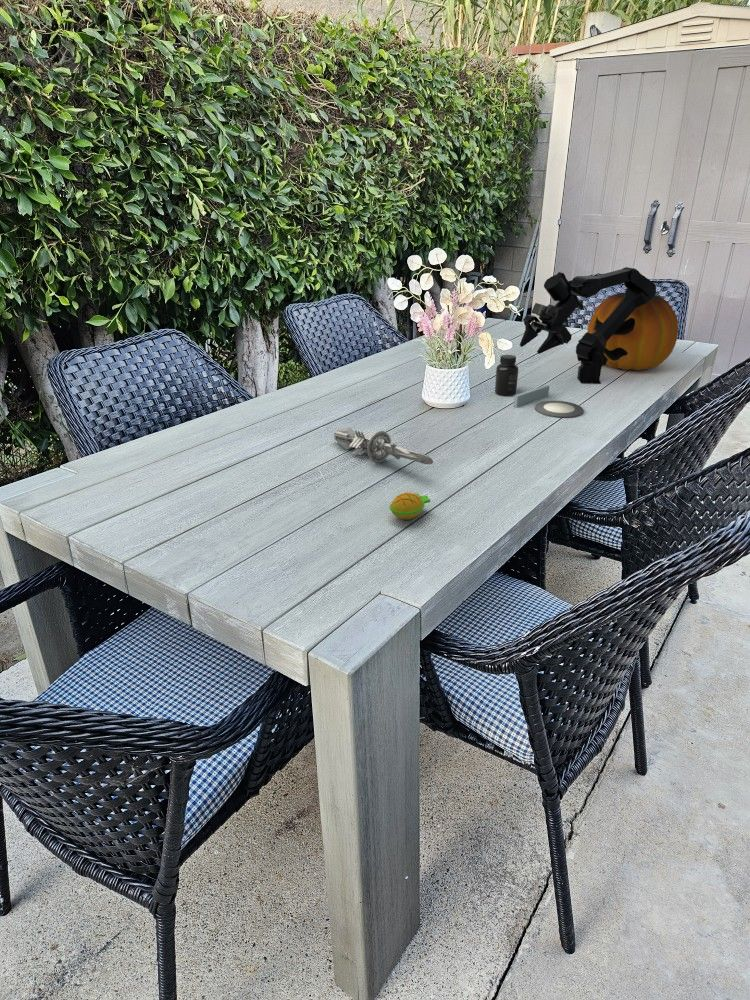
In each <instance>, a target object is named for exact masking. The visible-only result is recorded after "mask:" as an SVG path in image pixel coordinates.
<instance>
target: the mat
mask: <svg viewBox="0 0 750 1000" xmlns="http://www.w3.org/2000/svg"><path fill="white" fill-rule="evenodd" d="M534 410H535V411H536V412H537V413H539V414H541V415H543V416H545V417H550V418H551V417H552V418H556V419H558V418H560V419H569V418H570V419H571V418H578V417H580V416H581V415H583V413H584V409H583V407H582V406H581V405H579V404H576V403H574V402H570V401H564V400H544V401H540V402H537V403H536V404H535V405H534Z"/></svg>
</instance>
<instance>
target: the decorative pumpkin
mask: <svg viewBox="0 0 750 1000" xmlns="http://www.w3.org/2000/svg"><path fill="white" fill-rule="evenodd" d="M624 297H625V292H618V293H617V292H616V294H612V295H610V296H608V297H607V298H605V300H604V299H603V301H602V302H601V303H600V304H599V305H598V306H596V308H595V310H593V311H594V312H593V314H592V316H591V319H590V321H589V323H588V327H587V331H586V332H588V333H591V334H592V333H594V332H595V331H596V330H597V329H598V328H599V327H600V326H601V325H602V324H603V322H604V321H605V320H606V319H607V318H608V317H609V316H610V314H611V313H612V312H613V311H614V310H615V309H616V308H617V306H618V305H619V304H620V303H621V302H622V301H623V300H624ZM676 314H677V313H676V311H674V309H673V307H672V305H671V304H670V302H668V301H667V300H665V298H663V297H662V296H661V295H657V294H655V295H654V297H653V298H652V299H650V300H649V301H648V302H647V303H646V304H644V305H642V306H639V307H637V308H636V309H635V310H634V311H633V312H632V313H631V314H630V316H629V317H628V318H627V319H626V320H625V321H624V322H623V324H622V325H621V326H620V327H619V328H618V329H617V330H616V332H615V333H614V334H613V335H612V336H611V337H610V338H609V340H608V341H607V344H606V349H605V351H604V352H603V353H604V355H605V356H606V358H607V359H608V360H607V363H606V365H607V366H608V367H609V368H617V369H621V370H636V371H641V370H649V369H653V368H656V367H659V366H660V365H661V364H663V363H664V362H665V361H666V360H667V359H668V358H669V357H670V355H671V354H672V353H673V352H674V351H673V350H674V349H675V346H676V344H677V339H678V336H679V321H678V317H677V315H676ZM606 365H605V366H606Z"/></svg>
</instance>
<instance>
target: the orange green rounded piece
mask: <svg viewBox="0 0 750 1000" xmlns="http://www.w3.org/2000/svg"><path fill="white" fill-rule="evenodd" d="M428 497H429V496H428V495H420V494H419V493H415V492H408V491H407V492H403V493H400V494H398V495H396V497H395V498H393V499H392V501H391V503H390V505H389V510H390V511H391V513H392V514H393V515H394V516H395V517H396V518H398V519H399V520H405V521H406V520H411V519H414V518H416V517H417V516H419V514H420V513H421V512H422V510H423V509H424V508H425V504H427V503H428V504H429V503H430V502H431V499H430V498H428Z"/></svg>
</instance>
